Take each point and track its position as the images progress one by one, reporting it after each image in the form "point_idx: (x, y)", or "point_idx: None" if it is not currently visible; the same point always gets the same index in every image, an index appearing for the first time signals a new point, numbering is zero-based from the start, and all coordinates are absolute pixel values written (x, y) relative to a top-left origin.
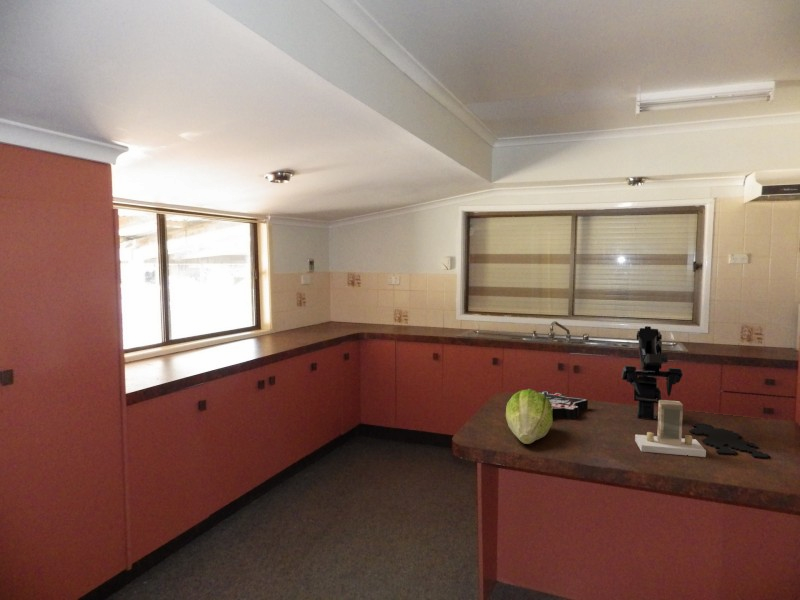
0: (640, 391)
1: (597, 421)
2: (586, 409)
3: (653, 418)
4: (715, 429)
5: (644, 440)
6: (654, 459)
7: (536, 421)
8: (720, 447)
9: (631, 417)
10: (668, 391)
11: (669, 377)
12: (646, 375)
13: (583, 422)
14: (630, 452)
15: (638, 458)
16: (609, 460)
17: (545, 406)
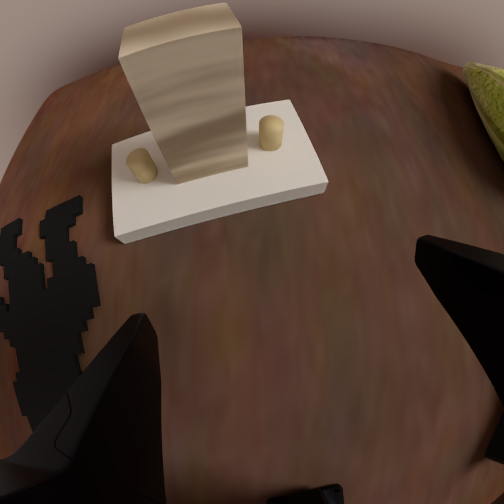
0: (430, 241)
1: (464, 344)
2: (488, 446)
3: (278, 499)
4: None
5: (288, 136)
6: (250, 84)
7: (487, 68)
8: (63, 243)
9: (362, 479)
10: (135, 334)
11: (22, 488)
12: (497, 502)
13: None
14: (311, 99)
15: (286, 77)
16: (336, 57)
17: None
